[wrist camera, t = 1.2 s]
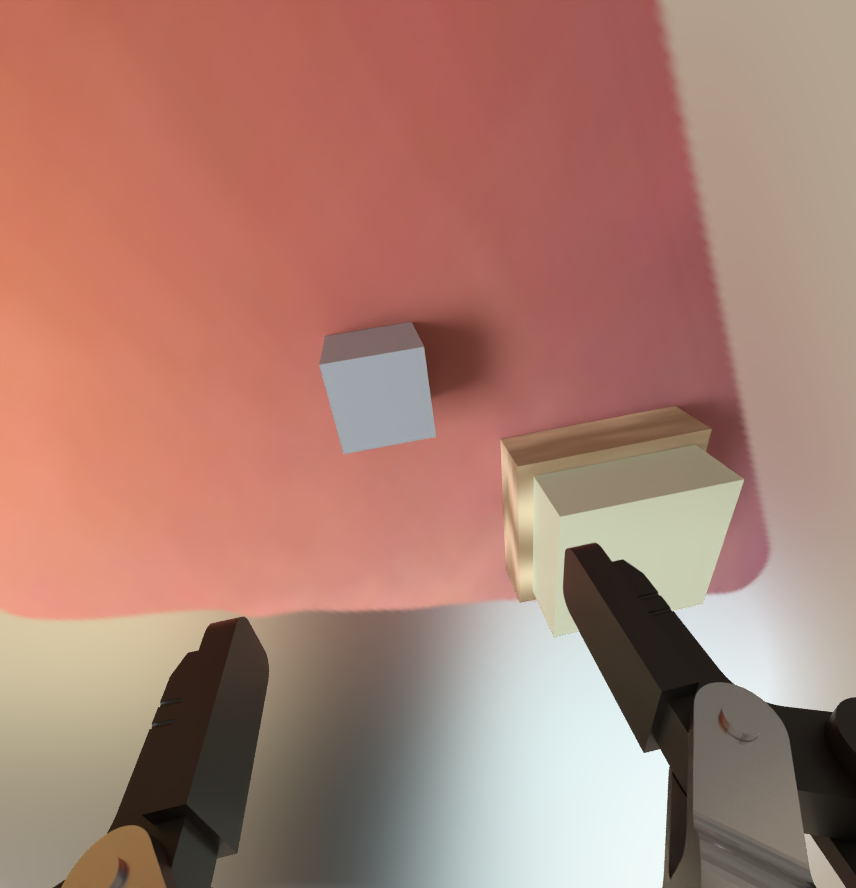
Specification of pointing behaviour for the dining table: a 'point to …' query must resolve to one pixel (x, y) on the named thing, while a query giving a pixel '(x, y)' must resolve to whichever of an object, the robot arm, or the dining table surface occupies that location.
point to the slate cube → (378, 387)
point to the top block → (635, 523)
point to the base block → (574, 451)
